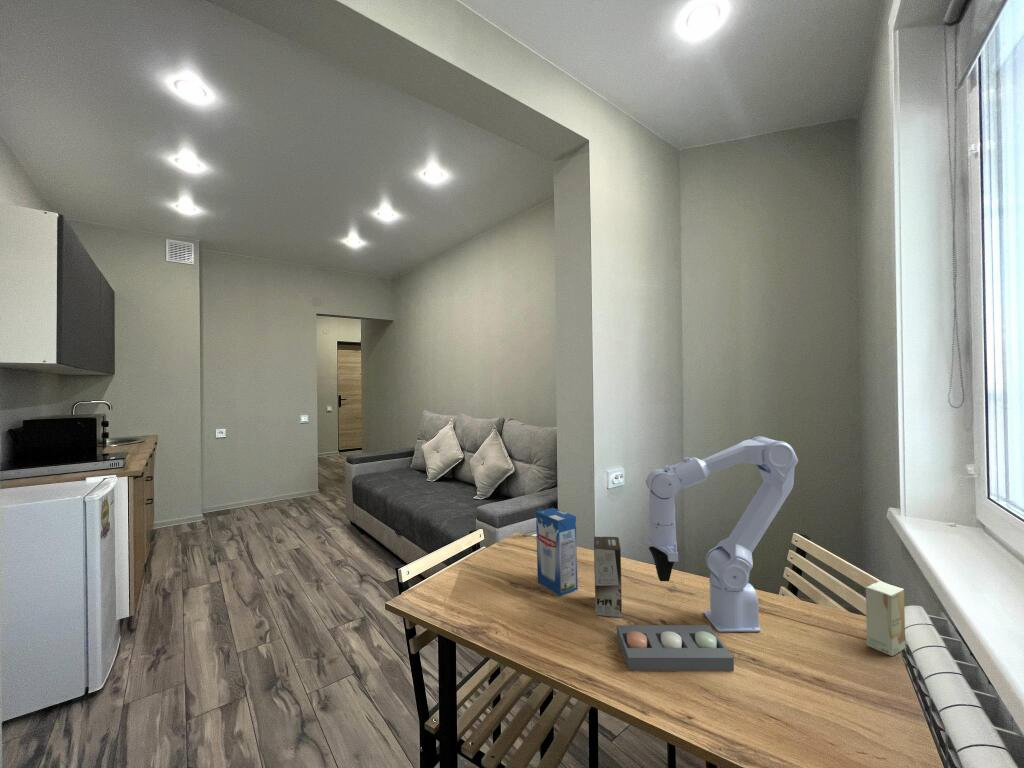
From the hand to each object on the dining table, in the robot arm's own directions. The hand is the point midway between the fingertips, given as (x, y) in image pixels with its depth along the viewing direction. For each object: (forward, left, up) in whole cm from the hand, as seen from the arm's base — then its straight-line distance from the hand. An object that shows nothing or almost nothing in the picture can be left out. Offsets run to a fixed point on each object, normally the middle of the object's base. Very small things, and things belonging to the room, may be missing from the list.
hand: (663, 579), depth 98 cm
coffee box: (+12, -6, -10) cm, 16 cm away
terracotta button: (+9, +12, -9) cm, 18 cm away
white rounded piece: (+2, +12, -9) cm, 15 cm away
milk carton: (+24, -17, -10) cm, 31 cm away
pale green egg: (-4, +12, -9) cm, 16 cm away
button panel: (+2, +12, -9) cm, 15 cm away
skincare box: (-42, +10, -10) cm, 44 cm away
